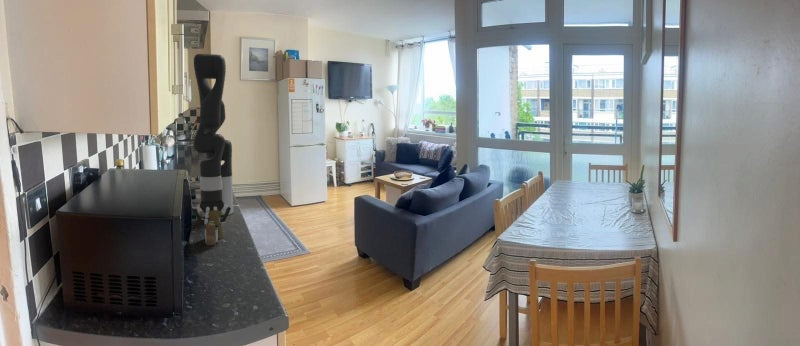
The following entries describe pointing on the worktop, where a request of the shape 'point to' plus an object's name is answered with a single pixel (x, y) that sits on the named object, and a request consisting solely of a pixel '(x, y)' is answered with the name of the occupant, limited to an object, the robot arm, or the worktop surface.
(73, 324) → the worktop surface
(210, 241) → the beige upright block
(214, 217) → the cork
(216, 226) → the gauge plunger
